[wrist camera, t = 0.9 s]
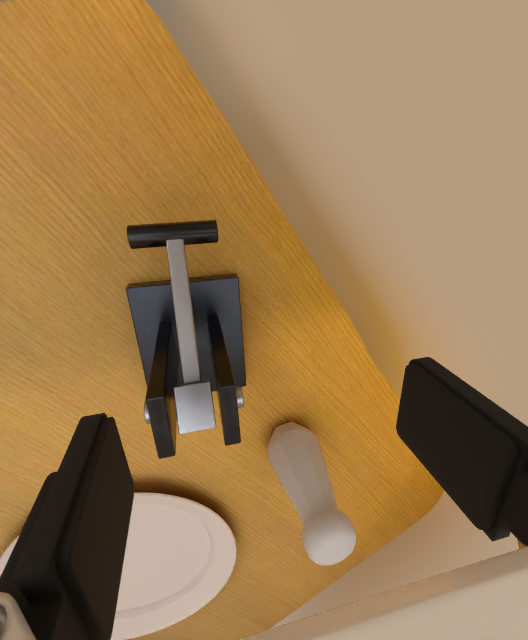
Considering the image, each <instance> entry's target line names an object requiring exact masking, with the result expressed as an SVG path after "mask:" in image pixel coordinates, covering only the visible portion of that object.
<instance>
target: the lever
mask: <svg viewBox="0 0 528 640" xmlns="http://www.w3.org/2000/svg"><path fill="white" fill-rule="evenodd" d="M127 236H128V241H129V245H130V247H131V249H138V248H151V247H164V246H167V254H168V262H169V270H170V278H171V287H172V295H173V303H174V311H175V319H176V327H177V335H178V343H179V352H180V360H181V368H182V376H183V382H177V383H176V385H175V386H174V388H173V389H174V397H175V406H176V414H177V422H178V430H179V434H185V433H191V432H196V431H202V430H207V429H212V428H216V421H215V414H214V406H213V398H212V390H211V382H210V378H209V377H208V378H202V379H201V372H200V364H199V356H198V348H197V340H196V332H195V324H194V316H193V308H192V300H191V292H190V284H189V276H188V268H187V260H186V252H185V245H190V244H203V243H216V242H218V229H217V223H216V220H206V221H190V222H175V223H159V224H143V225H128V226H127Z"/></svg>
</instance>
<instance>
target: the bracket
mask: <svg viewBox="0 0 528 640" xmlns="http://www.w3.org/2000/svg"><path fill="white" fill-rule="evenodd" d="M189 284H190V292H191V300H192V308H193V316H194V324H195V332H196V340H197V348H198V356H199V364H200V372H201V379H202V378H208V377H209V378H210V382H211V390H212V391H217V396H218V403H219V409H220V416H221V422H222V429H223V435H224V441H225V445H226V446H227V445H232V444H237V443H240V442H241V438H240V426H239V415H238V408H241V407H244V400H243V393H242V388H241V387H242V386H246V376H245V362H244V348H243V334H242V320H241V306H240V292H239V279H238V276H237V274H230V275H219V276H209V277H199V278H189ZM126 292H127V296H128V301H129V305H130V310H131V314H132V319H133V324H134V328H135V333H136V337H137V342H138V346H139V351H140V355H141V360H142V364H143V369H144V374H145V378H146V383H147V387H148V388H147V393H146V399H145V403H144V416H145V421H146V423H147V424H151V427H152V432H153V436H154V440H155V445H156V449H157V454H158V458H159V459H161V458H166V457H171V456H175V453H176V424H177V414H176V406H175V397H174V389H173V388H174V386H175V385H176V383H177V382H183V376H182V368H181V360H180V352H179V343H178V335H177V327H176V319H175V311H174V303H173V295H172V287H171V280H167V281H157V282H147V283H136V284H128V286H127V287H126Z"/></svg>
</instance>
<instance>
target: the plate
mask: <svg viewBox="0 0 528 640" xmlns="http://www.w3.org/2000/svg"><path fill="white" fill-rule="evenodd" d="M18 538H19V536H18V537H17V538H16V539H15V540H14V541H13V542H12V543H11V544H10V545H9V546H8V547H7V549H6V550H5V552H4V553H3V555H2V556H1V558H0V576H1V574H2V572H3V570H4V568H5V566H6V563H7V561H8V559H9V557H10V555H11V553H12V551H13V548H14V546H15V544H16V542H17V540H18ZM236 554H237V551H236V542H235V537H234V535H233V533H232V531H231V529H230V527H229V526H228V524H227V523H226V522H225V521H224V520H223V519H222V518H221V517H220V516H219V515H218V514H217V513H215V512H214V511H212V510H211V509H209V508H208V507H206V506H204V505H202V504H200V503H197V502H195V501H192V500H189V499H186V498H182V497H178V496H174V495H167V494H160V493H134V499H133V505H132V512H131V518H130V524H129V531H128V537H127V543H126V550H125V556H124V562H123V569H122V575H121V581H120V588H119V594H118V600H117V607H116V613H115V619H114V625H113V631H112V636H111V639H110V640H126V639H130V638H135V637H139V636H143V635H146V634H149V633H153V632H155V631H158V630H161V629H164V628H166V627H168V626H171V625H173V624H175V623H177V622H179V621H181V620H183V619H185V618H187V617H188V616H190V615H191V614H193V613H195V612H196V611H198V610H199V609H200V608H202V607H203V606H204V605H206V604H207V603H208V602H209V601H210V600H211V599H212V598H214V597H215V596H216V595H217V593H218V592H219V591H220V590H221V589H222V588H223V586H224V585H225V583H226V582H227V581H228V579H229V577H230V575H231V573H232V571H233V568H234V565H235V560H236Z"/></svg>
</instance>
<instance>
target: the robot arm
mask: <svg viewBox="0 0 528 640" xmlns="http://www.w3.org/2000/svg"><path fill="white" fill-rule="evenodd" d="M396 430H397V433H398V435H399V437H400V438H401V439H402V440H403V442H404V443H405V444H406V445H407V446H408V448H409V449H410V450H411V451H412V452H413V453H414V455H415V456H416V457H417V458H418V459H419V461H420V462H421V463H422V464H423V465H424V466H425V468H426V469H427V470H428V471H429V472H430V474H431V475H432V476H433V477H434V478H435V479H436V481H437V482H438V483H439V484H440V485H441V487H442V488H443V489H444V490H445V491H446V493H447V494H448V495H449V496H450V497H451V498H452V500H453V501H454V502H455V503H456V504H457V506H458V507H459V508H460V509H461V510H462V511H463V513H464V514H465V515H466V516H467V517H468V519H469V520H470V521H471V522H472V523H473V524H474V525H475V526H476V527H477V528H478V529H480V530H483V531H484V532H485V533H486V535H487V536H488V537H489V538H490V539H491V540H492V541H495V540H499V539H502V538H505V537H508V536H509V535H510V532H512V533H513V535H514V536H515V537H516V538H517V539H518V545H519V549H518V550H516V551H512V552H509V553H506V554H502V555H499V556H496V557H493V558H490V559H487V560H484V561H480V562H477V563H474V564H471V565H467V566H464V567H461V568H458V569H455V570H452V571H449V572H445V573H442V574H439V575H436V576H433V577H430V578H427V579H423V580H420V581H417V582H414V583H411V584H408V585H405V586H402V587H399V588H396V589H392V590H389V591H386V592H383V593H380V594H377V595H374V596H371V597H368V598H365V599H362V600H358V601H355V602H352V603H349V604H346V605H343V606H340V607H337V608H334V609H331V610H327V611H325V612H321V613H318V614H315V615H312V616H309V617H307V618H303V619H300V620H297V621H294V622H291V623H288V624H285V625H282V626H279V627H276V628H273V629H270V630H266V631H263V632H260V633H257V634H254V635H251V636H248V637H245V638H242V639H239V640H528V427H527V426H526V425H525V424H523V423H522V422H520V421H519V420H518V419H516V418H515V417H513V416H512V415H511V414H509V413H508V412H506V411H505V410H504V409H502V408H501V407H499V406H498V405H497V404H495V403H494V402H492V401H491V400H490V399H488V398H487V397H485V396H484V395H483V394H481V393H480V392H478V391H477V390H476V389H474V388H473V387H471V386H470V385H468V384H467V383H466V382H464V381H463V380H461V379H460V378H459V377H457V376H456V375H454V374H453V373H452V372H450V371H449V370H447V369H446V368H445V367H443V366H442V365H440V364H439V363H437V362H436V361H435V360H433V359H432V358H430V357H425V358H420V359H413V360H411V361H410V362H409V365H407V366H406V369H405V374H404V381H403V387H402V393H401V399H400V405H399V411H398V418H397V424H396ZM133 499H134V484H133V480H132V477H131V473H130V470H129V466H128V463H127V460H126V456H125V453H124V450H123V446H122V443H121V440H120V436H119V433H118V430H117V426H116V423H115V420H114V418H113V417H109V418H107V415H106V414H105V413H101V414H96V415H90V416H84V417H82V418H81V419H80V421H79V424H78V426H77V428H76V430H75V433H74V435H73V437H72V440H71V442H70V444H69V446H68V449H67V451H66V453H65V456H64V458H63V460H62V463H61V465H60V467H59V469H58V472H53V473H51V474H50V475H48V477H47V478H46V480H45V482H44V484H43V486H42V488H41V490H40V492H39V494H38V497H37V499H36V501H35V503H34V505H33V507H32V510H31V512H30V514H29V516H28V518H27V520H26V523H25V525H24V527H23V529H22V531H21V533H20V535H19V538H18V540H17V542H16V544H15V546H14V548H13V551H12V553H11V555H10V557H9V559H8V561H7V563H6V566H5V568H4V570H3V572H2V574H1V576H0V640H110V639H111V636H112V631H113V625H114V619H115V613H116V607H117V600H118V594H119V588H120V581H121V575H122V569H123V562H124V556H125V550H126V543H127V537H128V531H129V524H130V518H131V512H132V505H133Z"/></svg>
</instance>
